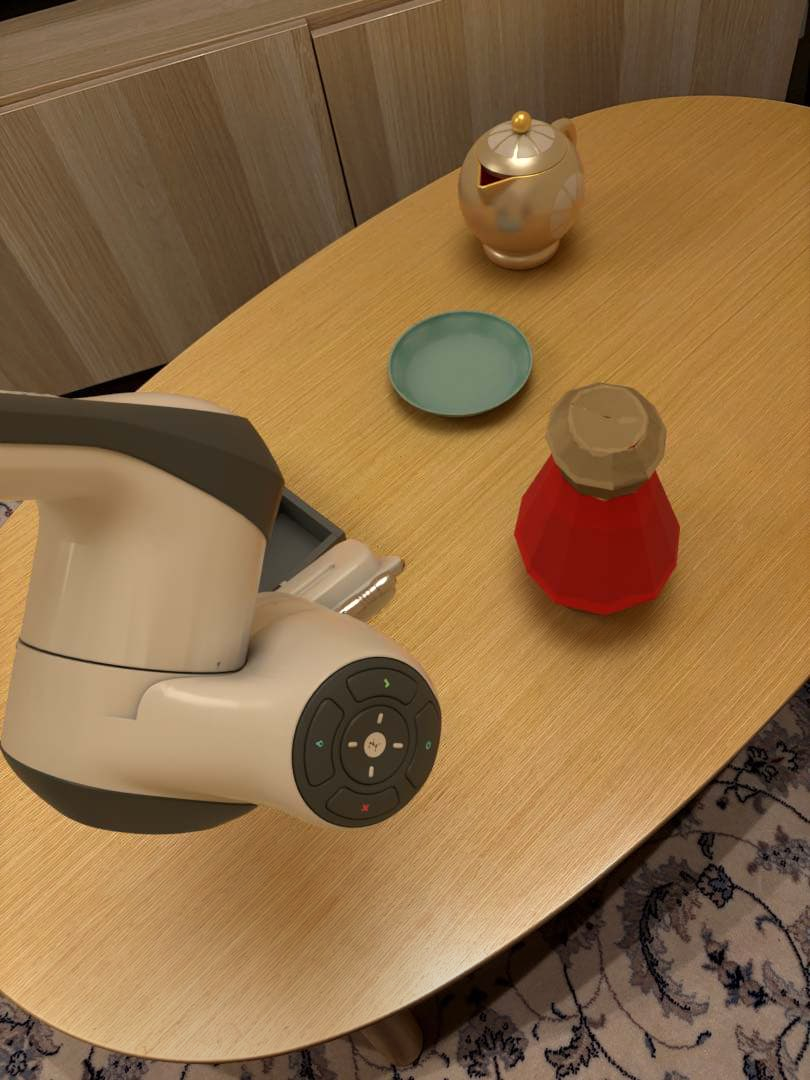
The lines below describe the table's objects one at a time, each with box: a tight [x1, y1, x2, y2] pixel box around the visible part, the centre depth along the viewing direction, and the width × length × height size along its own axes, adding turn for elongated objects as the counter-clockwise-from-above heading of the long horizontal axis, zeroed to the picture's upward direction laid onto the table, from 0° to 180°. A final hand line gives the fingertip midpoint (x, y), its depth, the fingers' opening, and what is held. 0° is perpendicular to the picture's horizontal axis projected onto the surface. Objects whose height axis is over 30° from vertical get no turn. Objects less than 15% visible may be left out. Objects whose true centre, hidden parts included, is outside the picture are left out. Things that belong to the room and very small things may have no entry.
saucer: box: [387, 309, 534, 418], centre depth 89 cm, size 15×15×3 cm
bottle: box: [513, 381, 681, 616], centre depth 68 cm, size 16×14×20 cm
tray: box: [258, 485, 348, 593], centre depth 78 cm, size 18×18×5 cm
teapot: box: [457, 110, 586, 271], centre depth 94 cm, size 18×14×16 cm
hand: (229, 636), depth 62 cm, fingers open, 8 cm apart
